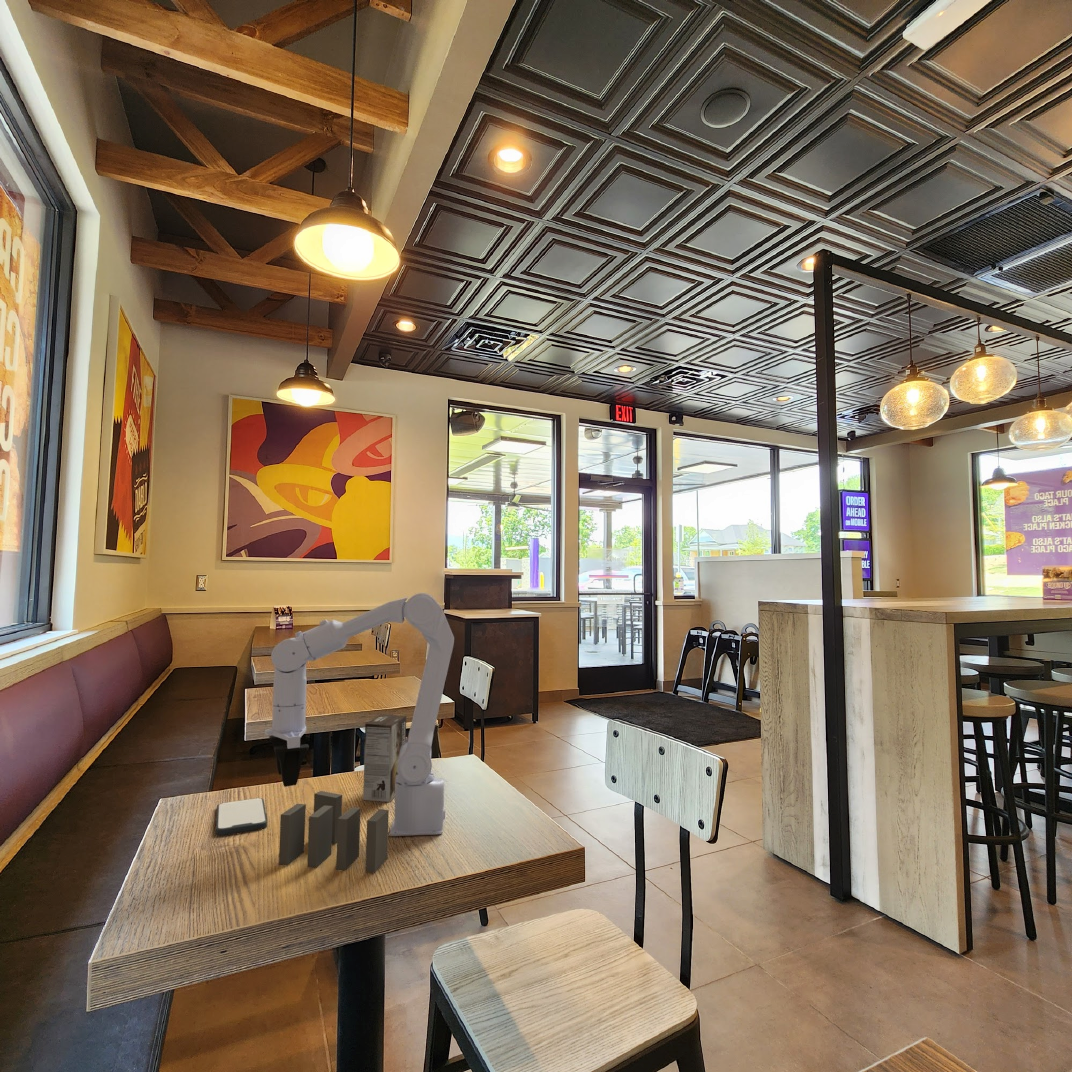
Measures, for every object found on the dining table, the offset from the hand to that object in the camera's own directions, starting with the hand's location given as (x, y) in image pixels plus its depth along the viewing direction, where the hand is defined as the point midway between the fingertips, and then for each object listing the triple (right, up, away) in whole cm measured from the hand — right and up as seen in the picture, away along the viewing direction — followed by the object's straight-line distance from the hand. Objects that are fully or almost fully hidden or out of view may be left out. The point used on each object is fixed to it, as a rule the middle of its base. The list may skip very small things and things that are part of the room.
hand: (287, 779), depth 110 cm
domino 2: (+10, -9, -10) cm, 17 cm away
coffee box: (+12, -12, +21) cm, 27 cm away
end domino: (+8, -10, -2) cm, 13 cm away
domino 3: (+15, -9, -11) cm, 21 cm away
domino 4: (+20, -9, -12) cm, 25 cm away
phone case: (-12, -11, +7) cm, 18 cm away
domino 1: (+5, -9, -10) cm, 14 cm away
